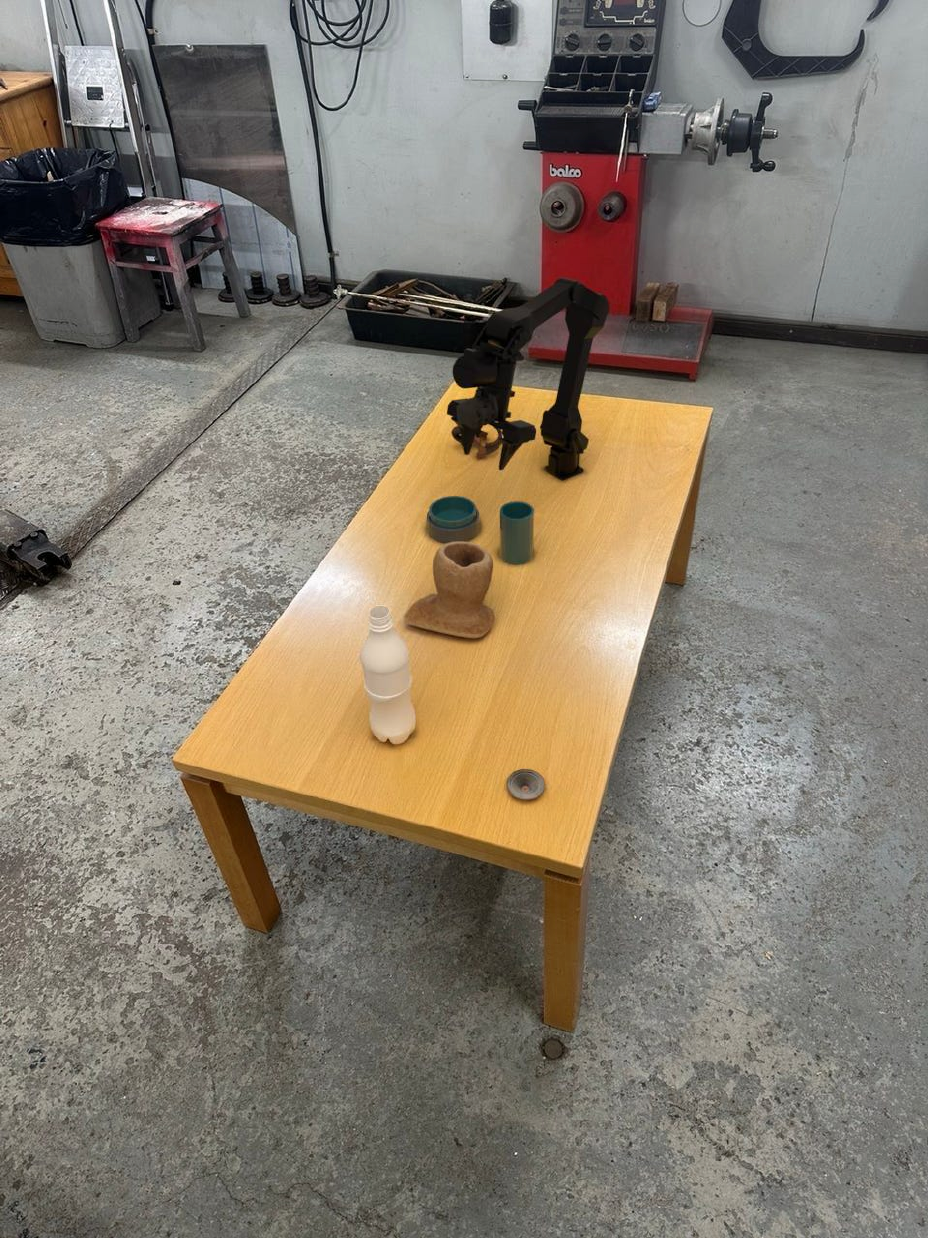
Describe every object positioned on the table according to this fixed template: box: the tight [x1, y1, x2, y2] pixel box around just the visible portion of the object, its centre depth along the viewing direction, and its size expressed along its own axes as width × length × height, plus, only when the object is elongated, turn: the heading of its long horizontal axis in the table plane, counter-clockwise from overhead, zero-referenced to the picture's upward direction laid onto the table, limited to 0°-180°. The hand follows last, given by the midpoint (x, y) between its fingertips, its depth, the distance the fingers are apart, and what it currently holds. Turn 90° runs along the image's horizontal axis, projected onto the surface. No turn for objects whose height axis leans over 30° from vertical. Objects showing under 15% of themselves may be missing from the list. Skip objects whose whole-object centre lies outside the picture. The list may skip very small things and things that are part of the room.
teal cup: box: [499, 500, 535, 565], centre depth 166 cm, size 6×6×10 cm
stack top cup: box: [428, 495, 477, 529], centre depth 175 cm, size 10×10×5 cm
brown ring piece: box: [450, 424, 504, 459], centre depth 199 cm, size 12×10×8 cm
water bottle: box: [359, 604, 417, 745], centre depth 126 cm, size 7×7×25 cm
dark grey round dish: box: [506, 768, 546, 800], centre depth 125 cm, size 6×6×1 cm
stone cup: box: [403, 541, 496, 639], centre depth 150 cm, size 15×12×15 cm
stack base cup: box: [426, 507, 481, 544], centre depth 175 cm, size 11×11×3 cm
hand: (483, 462), depth 169 cm, fingers open, 9 cm apart
